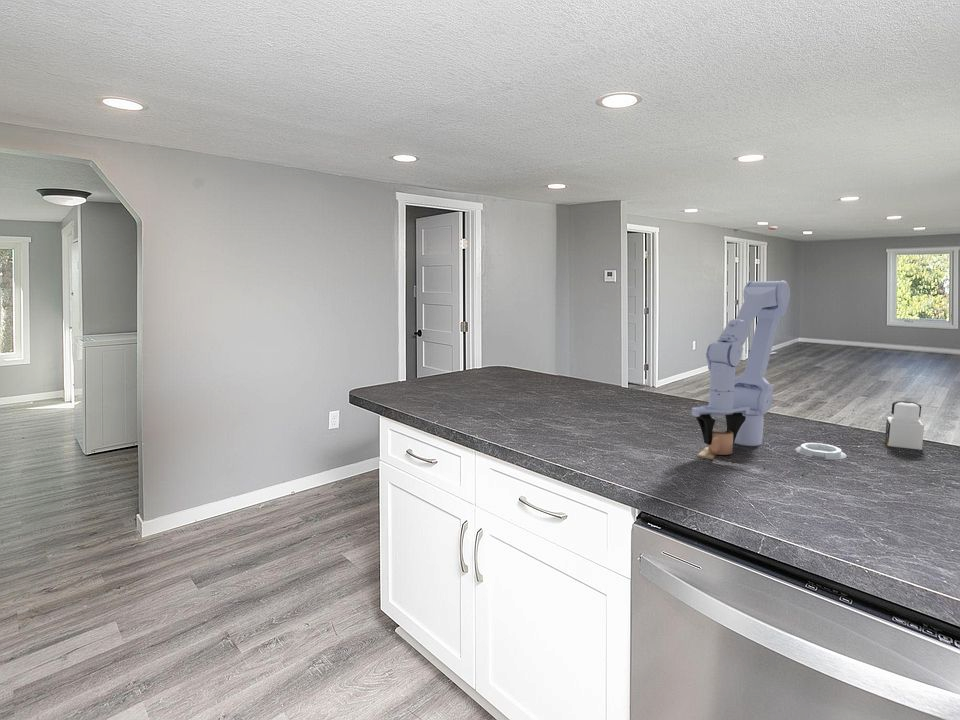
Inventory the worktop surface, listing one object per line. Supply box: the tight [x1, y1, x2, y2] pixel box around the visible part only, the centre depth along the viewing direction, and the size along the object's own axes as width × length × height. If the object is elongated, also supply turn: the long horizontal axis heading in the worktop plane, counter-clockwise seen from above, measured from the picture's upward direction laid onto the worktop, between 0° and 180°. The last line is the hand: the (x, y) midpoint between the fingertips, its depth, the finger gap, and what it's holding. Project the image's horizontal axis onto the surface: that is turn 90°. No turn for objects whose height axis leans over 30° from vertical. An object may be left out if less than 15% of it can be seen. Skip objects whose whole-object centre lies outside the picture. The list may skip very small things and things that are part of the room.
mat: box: [697, 446, 731, 463], centre depth 143 cm, size 8×8×1 cm
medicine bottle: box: [884, 400, 925, 451], centre depth 147 cm, size 7×7×12 cm
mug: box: [707, 428, 734, 456], centre depth 140 cm, size 9×6×5 cm, turn 144°
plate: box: [795, 442, 847, 460], centre depth 142 cm, size 11×11×2 cm
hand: (719, 443), depth 142 cm, fingers closed on mug, 6 cm apart
